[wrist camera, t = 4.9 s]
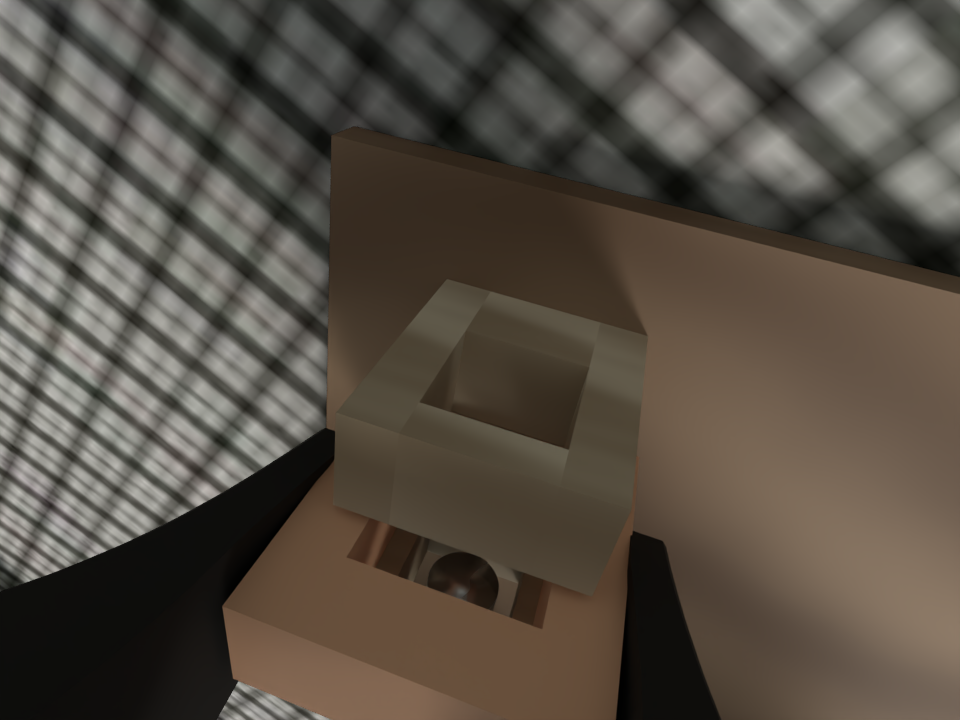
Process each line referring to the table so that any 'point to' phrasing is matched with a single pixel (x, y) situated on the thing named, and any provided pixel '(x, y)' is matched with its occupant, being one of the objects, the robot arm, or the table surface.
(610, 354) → the cradle
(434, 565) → the shaft
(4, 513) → the table surface
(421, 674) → the spacer
